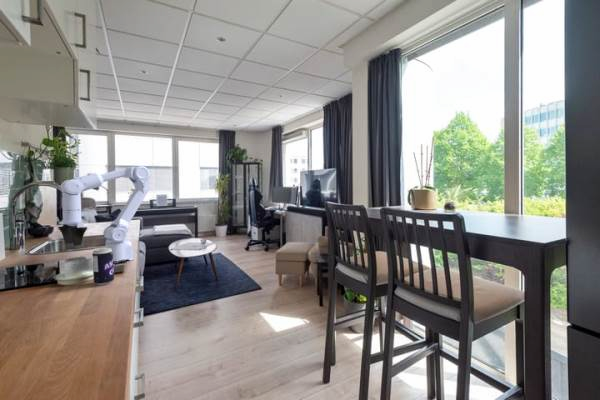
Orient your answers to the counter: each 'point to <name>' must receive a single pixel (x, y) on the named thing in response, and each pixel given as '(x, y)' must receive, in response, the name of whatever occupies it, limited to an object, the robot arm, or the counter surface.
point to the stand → (75, 279)
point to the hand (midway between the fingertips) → (73, 244)
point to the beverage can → (103, 265)
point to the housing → (75, 266)
